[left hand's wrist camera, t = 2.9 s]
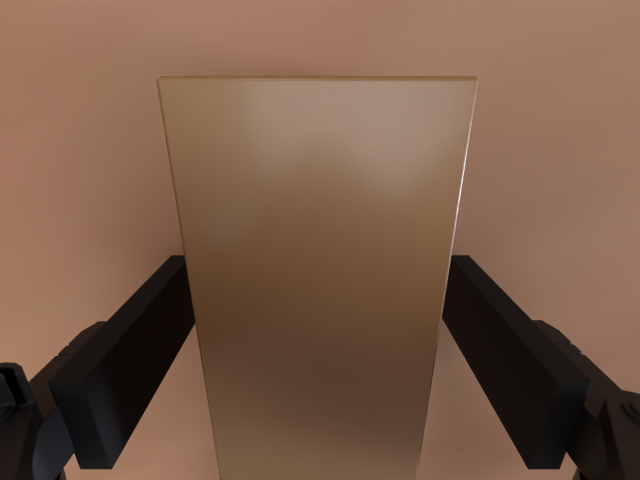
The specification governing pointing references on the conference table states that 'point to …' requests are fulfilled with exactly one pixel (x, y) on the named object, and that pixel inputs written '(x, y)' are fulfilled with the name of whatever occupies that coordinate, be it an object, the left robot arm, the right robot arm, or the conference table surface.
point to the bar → (318, 262)
